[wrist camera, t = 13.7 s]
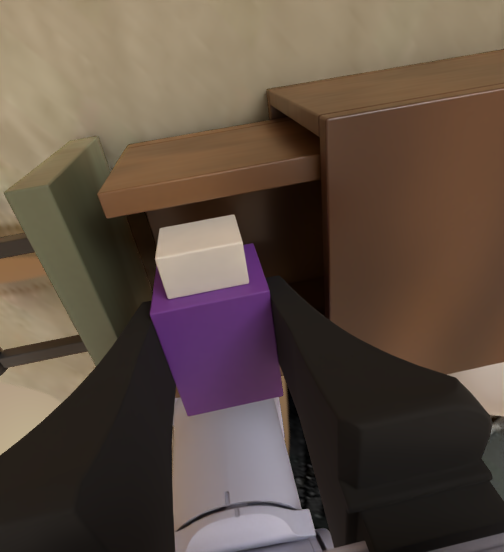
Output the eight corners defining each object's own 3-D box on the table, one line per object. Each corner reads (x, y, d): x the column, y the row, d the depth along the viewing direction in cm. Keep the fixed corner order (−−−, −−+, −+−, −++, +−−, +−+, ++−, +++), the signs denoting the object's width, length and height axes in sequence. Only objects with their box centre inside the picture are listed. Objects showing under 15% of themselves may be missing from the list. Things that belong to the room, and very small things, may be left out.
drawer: (30, 343, 20) (-29, 453, 15) (-84, 166, 15) (-245, 236, 9) (347, 279, 21) (404, 359, 16) (350, 92, 16) (438, 115, 10)
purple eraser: (267, 338, 15) (283, 396, 13) (187, 355, 15) (187, 417, 12) (247, 204, 12) (264, 246, 9) (144, 224, 12) (133, 272, 9)
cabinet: (286, 291, 22) (331, 400, 15) (265, 89, 16) (325, 118, 9) (488, 251, 23) (618, 337, 16) (543, 42, 17) (791, 37, 10)
